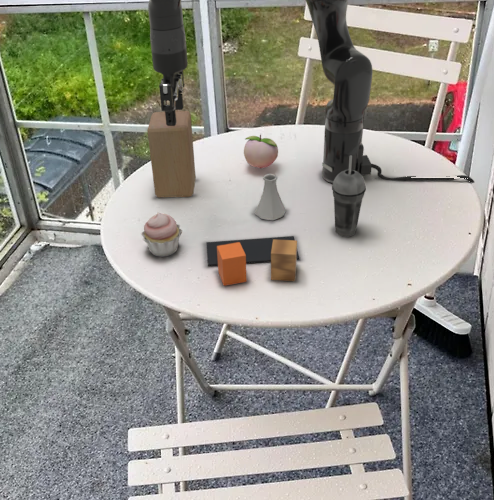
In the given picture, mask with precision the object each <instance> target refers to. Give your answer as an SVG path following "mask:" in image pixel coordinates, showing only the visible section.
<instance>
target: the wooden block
mask: <svg viewBox="0 0 494 500" xmlns="http://www.w3.org/2000/svg"><path fill="white" fill-rule="evenodd" d="M175 112H176V125H175V126H167V125H166V117H165V111H155V112H152V113H151V116H150V119H149V123H148V127H147V130H146V131H147V138H148V139H147V140H148V147H149V155H150V163H151V172H152V179H153V188H154V189H153V190H154V194H155V197H156V198H190V197H193V195H194V192H195V184H196V178H197V177H196V165H195V151H194V137H193V126H192V114H191V112H190V111H189V110H175Z"/></svg>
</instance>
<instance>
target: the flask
mask: <svg viewBox="0 0 494 500" xmlns="http://www.w3.org/2000/svg"><path fill="white" fill-rule="evenodd" d="M277 179H278V175H277V174H274V173H267V174H265V175H264V176H263V177H262V181H264V182H263V191H262V193H261V196H260V198H259V201H258V203H257V206H256V209H255V211H254V214H255V215H256V216H257V217H258V218H259V219H261V220H268V221H276V220H278V219H280V218H283V217H284V215H285V213H286V212H287V209H286V207H285V204H284V203H283V200H282V198H281V196H280V193H279V190H278V187H277V186H278V185H277Z"/></svg>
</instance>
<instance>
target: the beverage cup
mask: <svg viewBox="0 0 494 500" xmlns="http://www.w3.org/2000/svg"><path fill="white" fill-rule="evenodd" d="M351 165H352V156H351V155H350V158H349V170H344V171H342V172H340V173H339V174H338V175H337V176H336V178H335V179H334V182H333V183H332V185H331V190H332V196H333V210H334V211H333V212H334V228H335V229H334V230H335V231H334V232H335V233H336V235H338V236H339V237H342V238H343V237H345V238H347V237H352V236H354V235H355V234H356V230H357V228H358V223H359V219H360V213H361V208H362V202H363V198H364V196H365V194H366V191H367V188H366V181H365V178H364V177H363V176H364V175H361V174H360V173H359V172H357V171H355V170H351Z"/></svg>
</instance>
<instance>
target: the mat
mask: <svg viewBox="0 0 494 500" xmlns="http://www.w3.org/2000/svg"><path fill="white" fill-rule="evenodd" d="M273 239H275V240H296V239H295V236H294V235H289V236H288V235H287V236H273V237H261V238H259V237H258V238H247V239H246V238H245V239H233V240H231V239H230V240H219V241H218V240H217V241H206V256H207V266H208V267H218V258H217V246H220V245H226V244H231V243H237V242H240V244H241V246H242V248H243V250H244V253H245V255H246V265H249V264H262V263H263V264H264V263H271V250H272V244H273ZM300 259H301V257H300V255H299V251H298V249H297V261H300Z"/></svg>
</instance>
